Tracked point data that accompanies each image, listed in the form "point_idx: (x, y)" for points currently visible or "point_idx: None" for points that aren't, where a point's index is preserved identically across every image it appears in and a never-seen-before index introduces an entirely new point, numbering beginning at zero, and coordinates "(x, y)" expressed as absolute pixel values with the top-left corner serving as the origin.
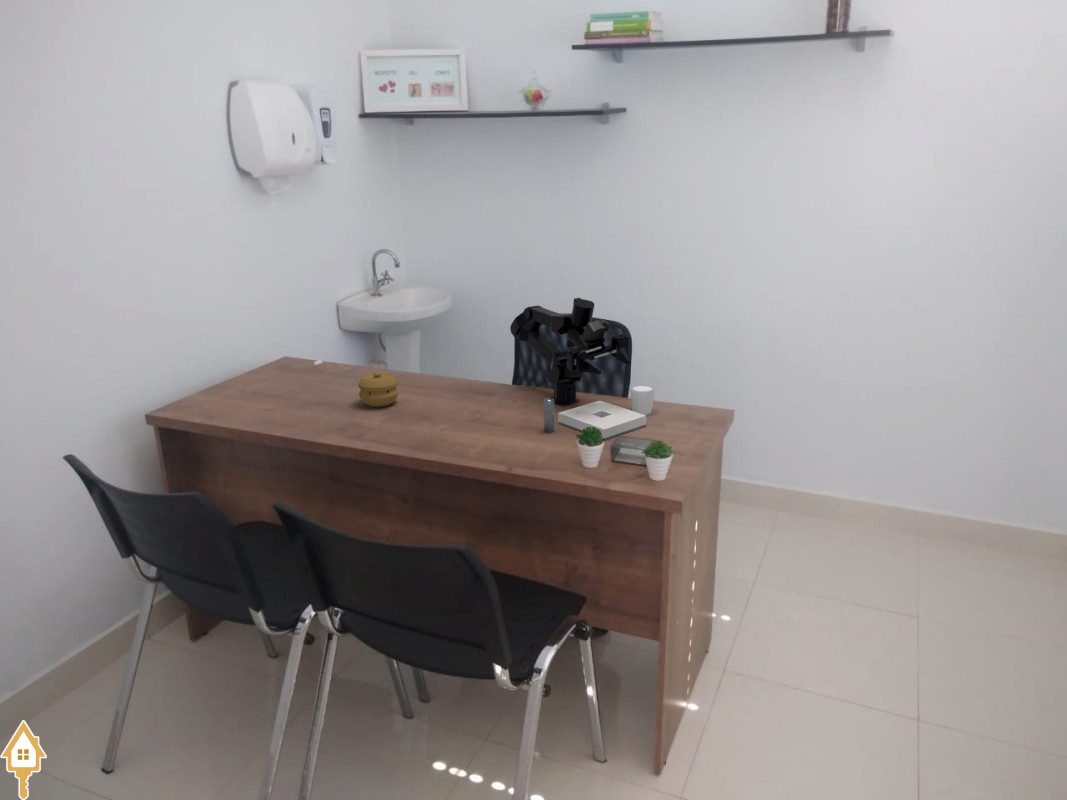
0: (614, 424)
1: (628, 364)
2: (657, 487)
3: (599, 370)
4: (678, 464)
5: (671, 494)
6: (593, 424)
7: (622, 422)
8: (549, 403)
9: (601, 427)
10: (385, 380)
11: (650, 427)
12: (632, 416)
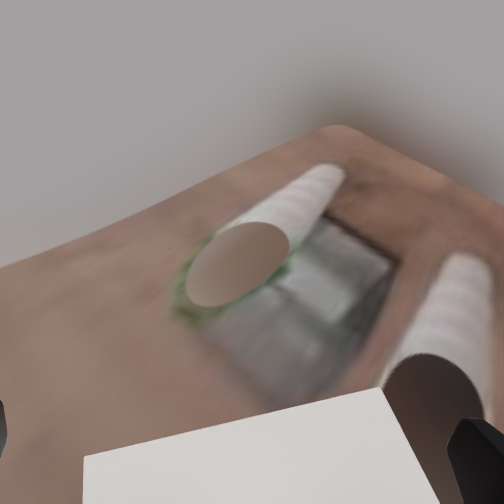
0: (308, 420)
1: (6, 437)
2: (349, 151)
3: (488, 424)
4: (247, 193)
5: (338, 132)
6: (413, 475)
7: (258, 426)
8: None
9: (384, 414)
10: None
11: (96, 449)
12: (157, 482)
